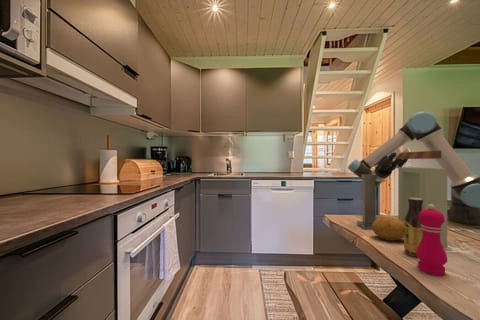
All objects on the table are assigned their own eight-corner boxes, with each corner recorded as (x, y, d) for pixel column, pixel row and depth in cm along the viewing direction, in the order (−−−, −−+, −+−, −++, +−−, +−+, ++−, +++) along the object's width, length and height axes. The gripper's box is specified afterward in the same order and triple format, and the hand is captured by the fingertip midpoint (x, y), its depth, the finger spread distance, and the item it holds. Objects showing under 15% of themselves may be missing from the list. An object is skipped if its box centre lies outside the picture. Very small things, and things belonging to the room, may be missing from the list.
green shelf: (398, 231, 105) (398, 167, 105) (416, 232, 105) (416, 167, 105) (425, 245, 88) (425, 168, 89) (447, 246, 88) (447, 168, 88)
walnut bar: (390, 159, 116) (390, 153, 116) (396, 159, 116) (396, 153, 116) (432, 158, 88) (432, 150, 88) (441, 158, 88) (441, 150, 88)
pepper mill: (453, 277, 64) (454, 206, 64) (424, 275, 66) (424, 205, 66) (437, 266, 71) (437, 202, 71) (411, 264, 73) (411, 201, 73)
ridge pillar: (357, 224, 117) (357, 174, 117) (373, 225, 116) (373, 174, 116) (364, 229, 109) (364, 175, 109) (381, 229, 108) (381, 175, 108)
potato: (410, 247, 87) (410, 222, 87) (370, 240, 95) (370, 217, 95) (409, 240, 95) (410, 217, 95) (372, 234, 103) (373, 213, 103)
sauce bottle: (404, 249, 84) (405, 196, 85) (426, 254, 81) (426, 197, 81) (403, 255, 79) (403, 198, 79) (426, 260, 75) (426, 200, 76)
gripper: (398, 178, 125) (425, 156, 104) (368, 178, 126) (389, 156, 106) (394, 166, 128) (420, 143, 108) (364, 166, 130) (384, 143, 109)
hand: (404, 149), depth 107 cm, fingers closed on walnut bar, 3 cm apart
